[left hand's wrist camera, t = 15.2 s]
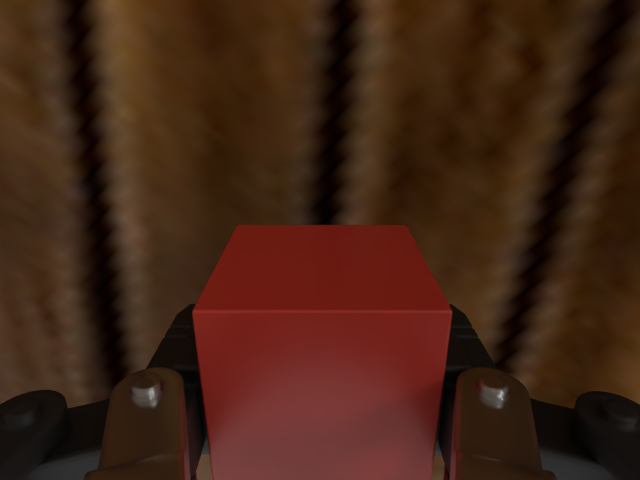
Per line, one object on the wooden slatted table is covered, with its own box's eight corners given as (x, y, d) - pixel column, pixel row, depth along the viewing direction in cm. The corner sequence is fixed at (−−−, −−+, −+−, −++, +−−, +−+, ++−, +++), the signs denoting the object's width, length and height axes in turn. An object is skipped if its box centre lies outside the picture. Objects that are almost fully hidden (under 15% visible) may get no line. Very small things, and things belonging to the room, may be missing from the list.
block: (406, 224, 12) (453, 310, 8) (394, 381, 14) (426, 519, 9) (236, 224, 12) (190, 311, 8) (248, 381, 14) (216, 519, 9)
